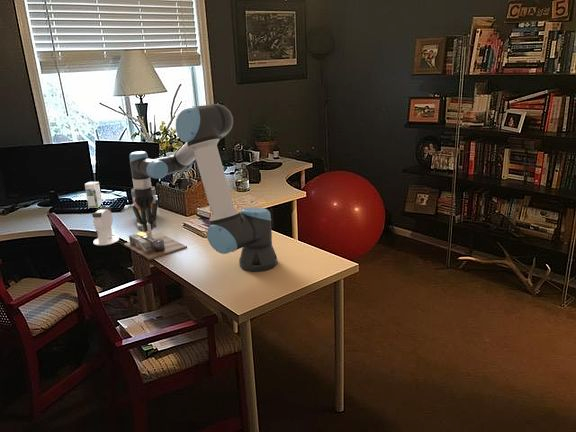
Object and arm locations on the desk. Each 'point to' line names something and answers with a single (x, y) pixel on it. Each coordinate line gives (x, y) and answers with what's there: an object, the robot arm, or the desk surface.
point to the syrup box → (93, 194)
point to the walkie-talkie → (142, 225)
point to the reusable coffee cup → (152, 195)
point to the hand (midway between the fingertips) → (149, 237)
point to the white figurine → (104, 227)
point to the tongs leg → (153, 242)
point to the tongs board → (147, 251)
